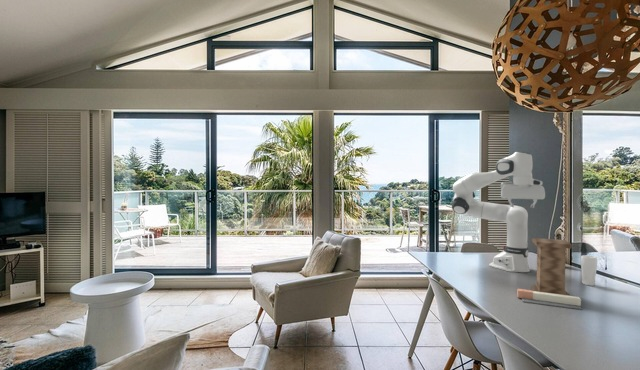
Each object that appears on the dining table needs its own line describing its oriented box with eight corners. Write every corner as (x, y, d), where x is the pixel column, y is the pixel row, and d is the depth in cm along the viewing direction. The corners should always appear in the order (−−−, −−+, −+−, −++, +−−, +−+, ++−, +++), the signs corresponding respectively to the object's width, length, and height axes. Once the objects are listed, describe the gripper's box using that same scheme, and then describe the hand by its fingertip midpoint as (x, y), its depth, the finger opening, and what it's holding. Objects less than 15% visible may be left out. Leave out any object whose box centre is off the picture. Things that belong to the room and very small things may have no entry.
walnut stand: (535, 295, 161) (536, 241, 161) (531, 287, 172) (532, 237, 172) (570, 299, 156) (572, 244, 155) (563, 291, 167) (564, 240, 166)
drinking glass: (599, 287, 174) (600, 258, 174) (584, 286, 175) (585, 257, 175) (591, 282, 181) (592, 255, 180) (577, 282, 182) (578, 254, 182)
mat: (523, 302, 152) (523, 300, 152) (519, 294, 163) (519, 293, 163) (582, 309, 144) (582, 308, 144) (574, 301, 154) (574, 300, 154)
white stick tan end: (517, 297, 157) (518, 290, 157) (517, 295, 160) (517, 288, 160) (580, 305, 147) (581, 298, 147) (578, 303, 150) (579, 296, 150)
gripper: (501, 181, 179) (500, 207, 179) (546, 181, 171) (545, 208, 171) (499, 181, 185) (499, 206, 185) (543, 181, 177) (543, 207, 177)
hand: (522, 207), depth 178 cm, fingers open, 8 cm apart
